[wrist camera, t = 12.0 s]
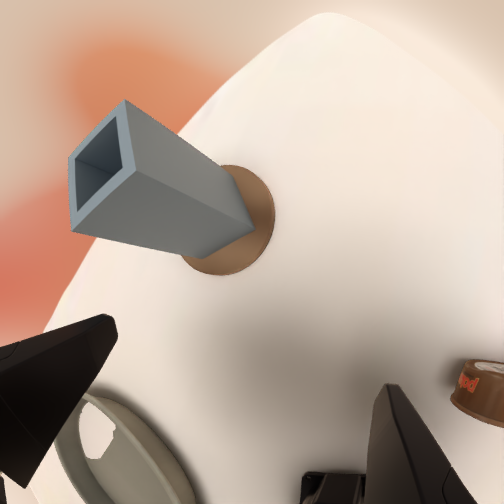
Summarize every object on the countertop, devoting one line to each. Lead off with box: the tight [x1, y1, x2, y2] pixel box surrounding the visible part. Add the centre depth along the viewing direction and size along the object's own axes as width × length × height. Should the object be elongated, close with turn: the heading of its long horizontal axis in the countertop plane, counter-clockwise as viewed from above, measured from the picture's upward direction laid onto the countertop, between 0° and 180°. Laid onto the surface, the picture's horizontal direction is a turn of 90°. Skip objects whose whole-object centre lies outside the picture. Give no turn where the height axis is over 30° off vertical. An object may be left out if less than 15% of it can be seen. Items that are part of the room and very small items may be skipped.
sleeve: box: [68, 99, 256, 259], centre depth 17 cm, size 5×5×12 cm
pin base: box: [181, 165, 275, 275], centre depth 21 cm, size 9×9×5 cm
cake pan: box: [54, 392, 197, 504], centre depth 23 cm, size 25×25×4 cm
